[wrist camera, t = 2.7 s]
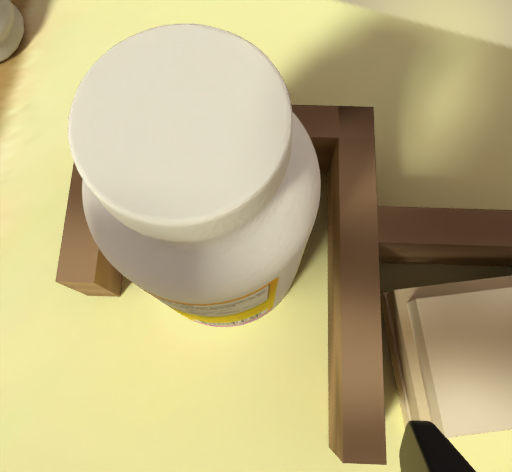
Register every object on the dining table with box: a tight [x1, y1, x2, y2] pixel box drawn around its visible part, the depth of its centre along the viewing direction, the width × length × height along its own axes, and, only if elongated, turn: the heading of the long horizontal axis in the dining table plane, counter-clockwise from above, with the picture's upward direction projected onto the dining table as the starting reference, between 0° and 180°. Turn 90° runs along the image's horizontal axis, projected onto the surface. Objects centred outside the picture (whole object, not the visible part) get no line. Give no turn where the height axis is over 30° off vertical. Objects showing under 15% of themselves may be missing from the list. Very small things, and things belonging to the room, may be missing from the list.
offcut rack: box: [56, 105, 512, 465], centre depth 20 cm, size 14×24×4 cm, turn 88°
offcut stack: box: [380, 275, 512, 438], centre depth 19 cm, size 6×7×4 cm
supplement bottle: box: [68, 24, 321, 327], centre depth 16 cm, size 7×7×13 cm
